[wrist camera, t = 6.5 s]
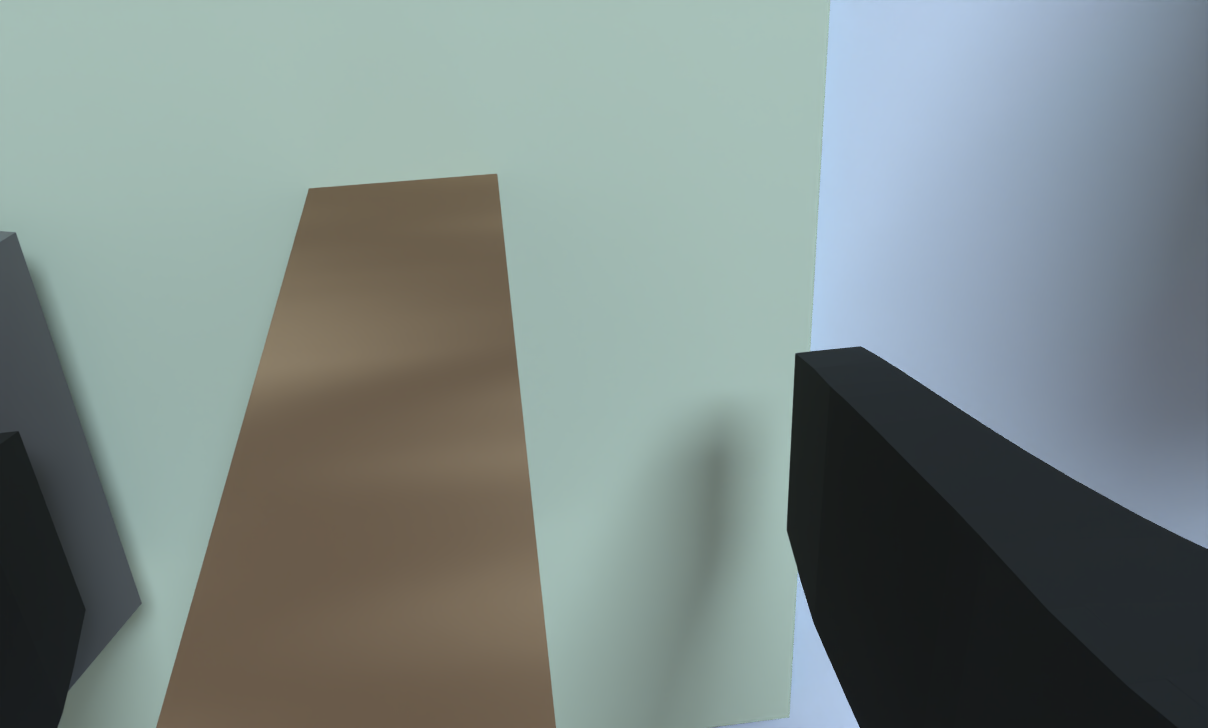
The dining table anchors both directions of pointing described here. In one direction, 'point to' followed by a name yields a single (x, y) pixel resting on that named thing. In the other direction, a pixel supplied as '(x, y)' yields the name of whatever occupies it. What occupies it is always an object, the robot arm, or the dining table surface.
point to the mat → (536, 281)
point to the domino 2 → (377, 487)
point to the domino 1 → (60, 458)
